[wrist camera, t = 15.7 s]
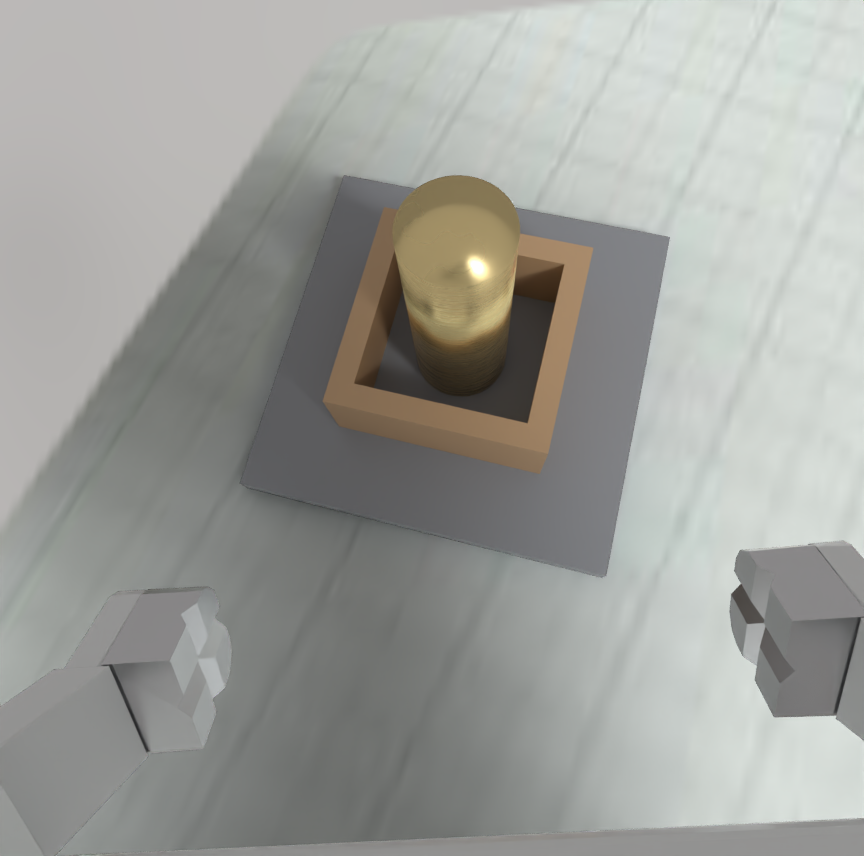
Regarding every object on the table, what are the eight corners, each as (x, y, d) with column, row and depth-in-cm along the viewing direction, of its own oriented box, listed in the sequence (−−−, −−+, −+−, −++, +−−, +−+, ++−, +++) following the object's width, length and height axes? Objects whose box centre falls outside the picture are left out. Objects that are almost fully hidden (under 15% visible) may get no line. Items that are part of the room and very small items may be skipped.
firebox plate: (664, 248, 33) (692, 191, 29) (601, 577, 29) (624, 568, 25) (347, 187, 35) (329, 125, 31) (247, 487, 31) (210, 464, 27)
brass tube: (513, 323, 31) (531, 186, 22) (495, 404, 30) (506, 297, 21) (428, 307, 32) (409, 166, 22) (407, 386, 31) (378, 274, 21)
